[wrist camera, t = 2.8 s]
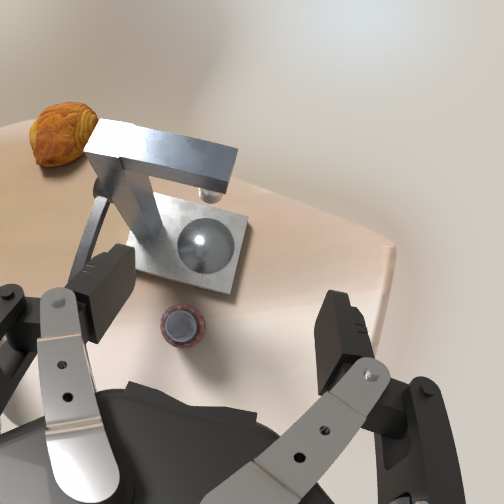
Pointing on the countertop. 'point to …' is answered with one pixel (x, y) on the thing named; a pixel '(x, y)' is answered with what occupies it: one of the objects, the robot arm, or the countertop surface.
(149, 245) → the press
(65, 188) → the countertop surface
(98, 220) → the lever
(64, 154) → the croissant
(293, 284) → the countertop surface
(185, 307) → the supplement bottle
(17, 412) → the countertop surface
